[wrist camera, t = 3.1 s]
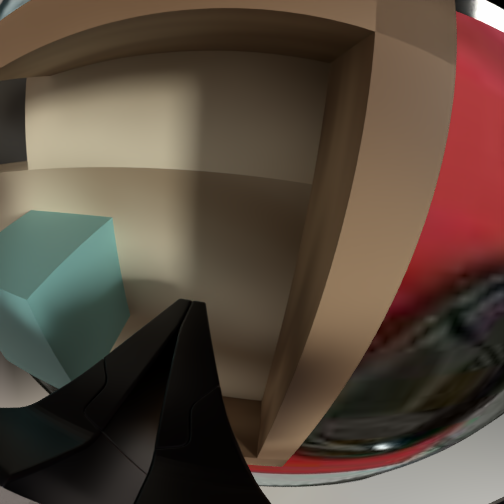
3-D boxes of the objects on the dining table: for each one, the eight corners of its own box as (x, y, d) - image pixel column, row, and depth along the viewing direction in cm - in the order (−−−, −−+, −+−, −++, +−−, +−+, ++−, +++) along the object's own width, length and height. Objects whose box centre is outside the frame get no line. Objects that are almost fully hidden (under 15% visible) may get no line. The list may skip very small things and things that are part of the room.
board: (279, 398, 16) (278, 424, 15) (53, 344, 17) (41, 362, 15) (367, 11, 6) (388, -8, 4) (-3, 58, 6) (-30, 61, 4)
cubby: (283, 413, 14) (281, 466, 11) (114, 382, 14) (95, 426, 11) (386, 32, 5) (454, -1, 2) (54, 38, 5) (-20, 36, 2)
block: (130, 315, 11) (85, 401, 7) (55, 295, 11) (6, 359, 7) (112, 217, 8) (26, 300, 4) (31, 210, 8) (-43, 267, 5)
